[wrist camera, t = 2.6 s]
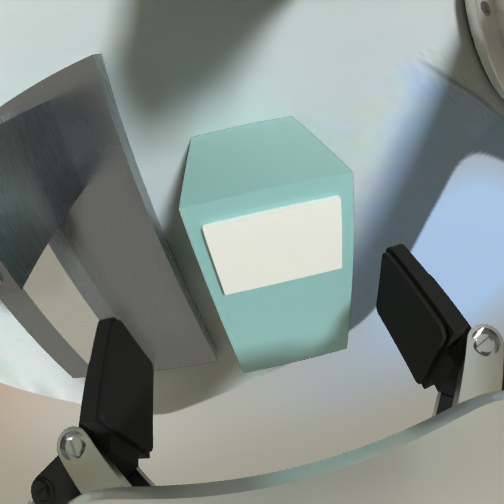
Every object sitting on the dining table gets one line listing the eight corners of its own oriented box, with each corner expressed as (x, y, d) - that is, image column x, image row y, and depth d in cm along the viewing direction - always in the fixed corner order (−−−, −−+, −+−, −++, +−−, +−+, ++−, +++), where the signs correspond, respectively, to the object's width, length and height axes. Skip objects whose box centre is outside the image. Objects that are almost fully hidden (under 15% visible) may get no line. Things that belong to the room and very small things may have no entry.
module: (191, 137, 13) (178, 213, 7) (292, 115, 13) (356, 175, 7) (231, 273, 18) (244, 376, 12) (308, 255, 17) (348, 351, 12)
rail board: (101, 53, 10) (-12, 74, 3) (216, 350, 22) (225, 448, 16) (-65, 163, 10) (-143, 237, 4) (75, 368, 22) (61, 448, 16)
